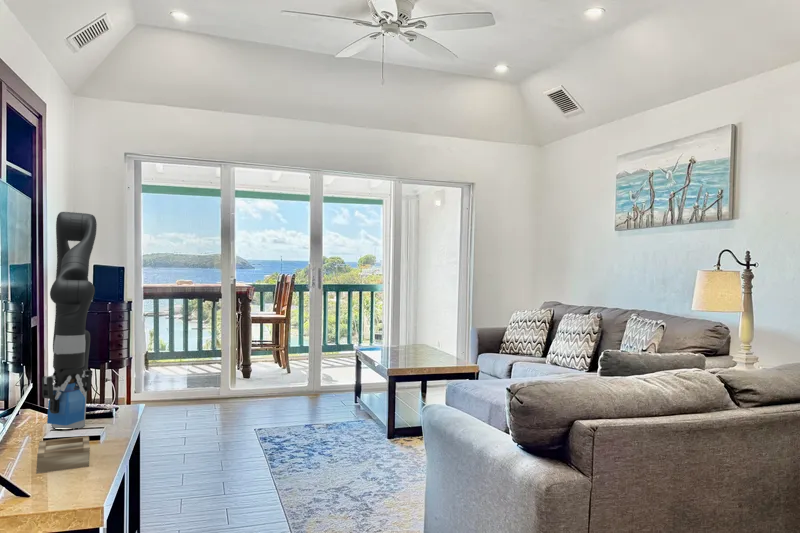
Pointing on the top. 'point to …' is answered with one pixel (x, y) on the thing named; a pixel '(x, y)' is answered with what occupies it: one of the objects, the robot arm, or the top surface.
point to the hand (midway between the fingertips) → (66, 410)
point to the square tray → (63, 454)
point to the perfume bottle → (68, 407)
